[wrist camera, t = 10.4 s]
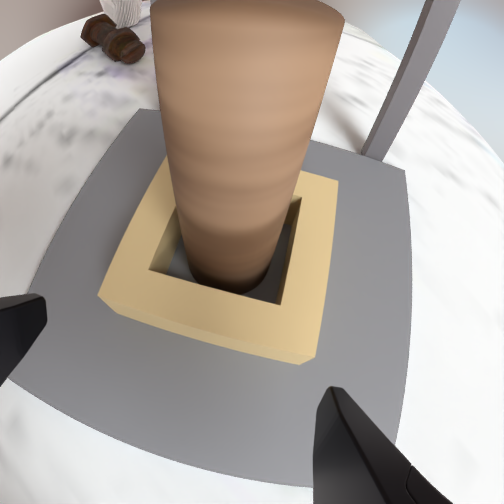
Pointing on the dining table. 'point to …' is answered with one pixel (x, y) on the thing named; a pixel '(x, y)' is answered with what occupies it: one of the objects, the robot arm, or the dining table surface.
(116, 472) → the dining table surface
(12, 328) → the robot arm
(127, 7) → the shell sculpture
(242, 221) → the walnut peg
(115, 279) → the socket stand
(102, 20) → the bolt
